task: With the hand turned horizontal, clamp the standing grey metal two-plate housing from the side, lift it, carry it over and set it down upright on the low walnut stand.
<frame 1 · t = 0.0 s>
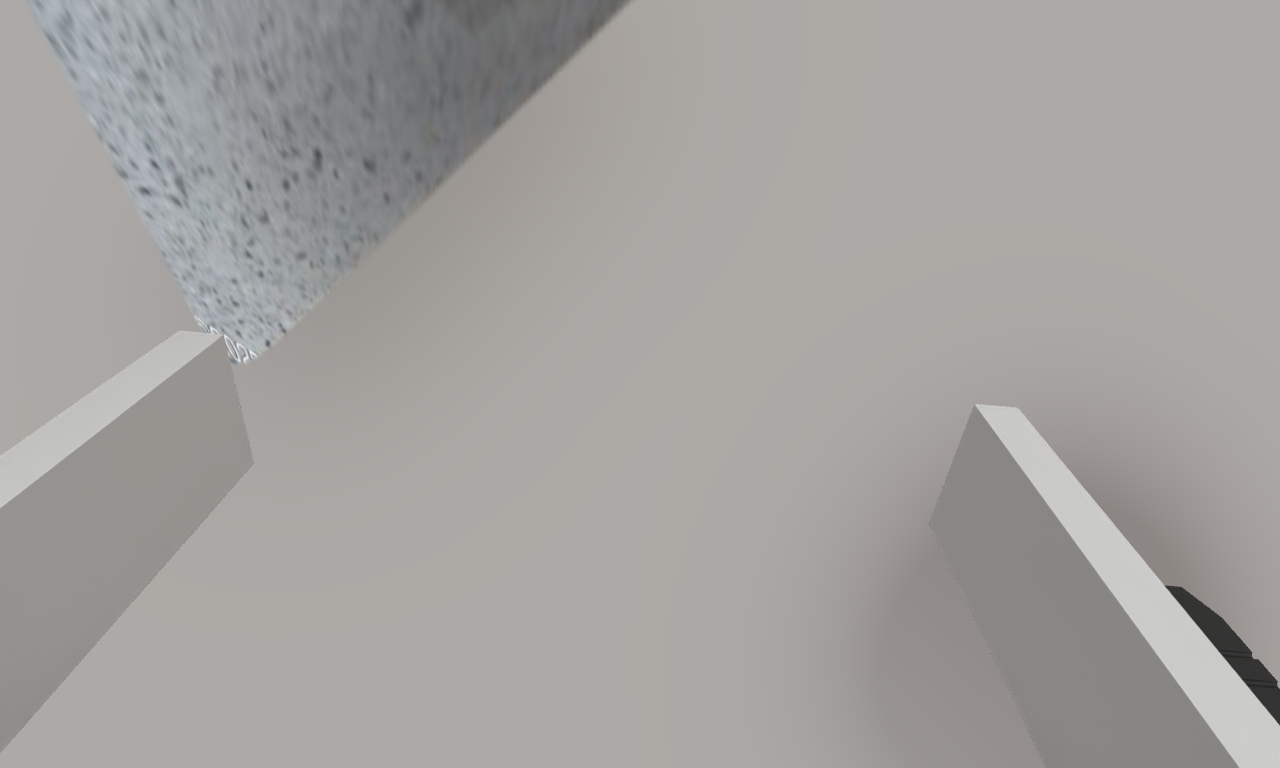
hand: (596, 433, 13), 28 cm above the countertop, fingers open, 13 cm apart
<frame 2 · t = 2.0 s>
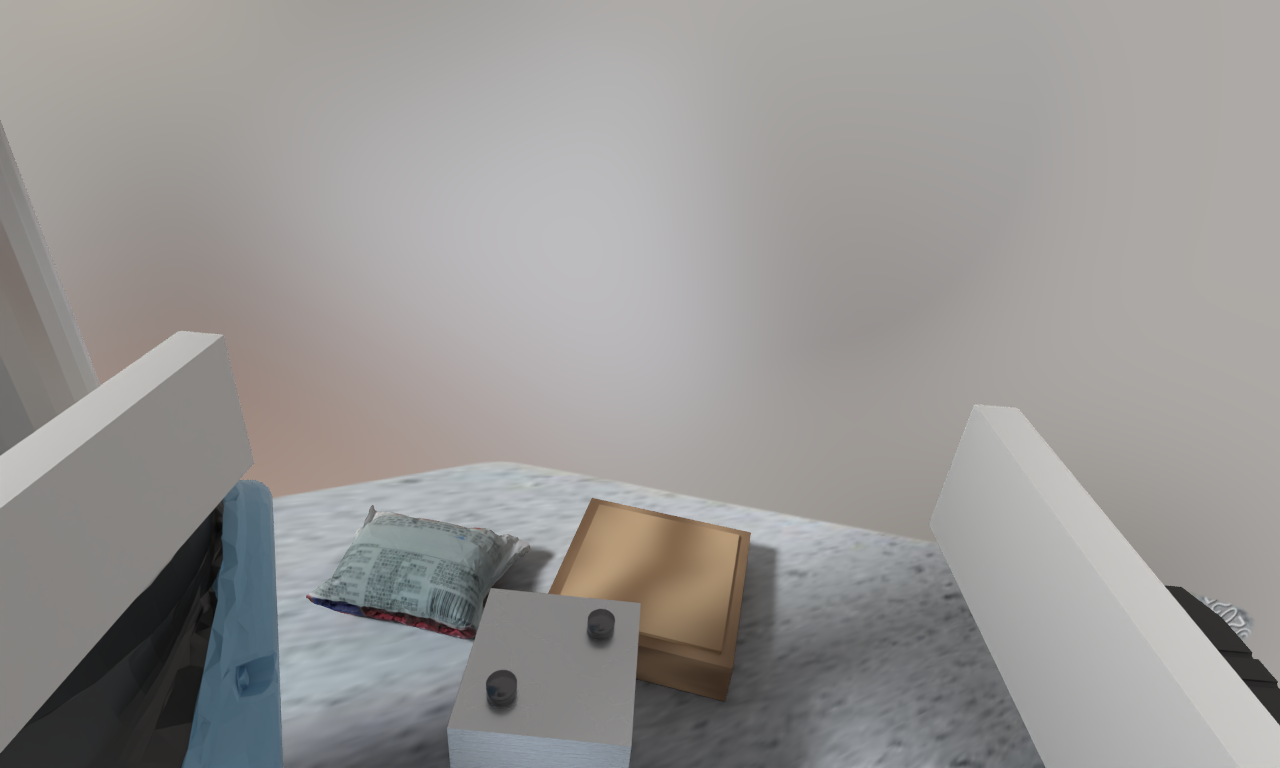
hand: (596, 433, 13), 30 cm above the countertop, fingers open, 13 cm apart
packaged food: (427, 592, 47), on the countertop
stand: (649, 603, 48), on the countertop
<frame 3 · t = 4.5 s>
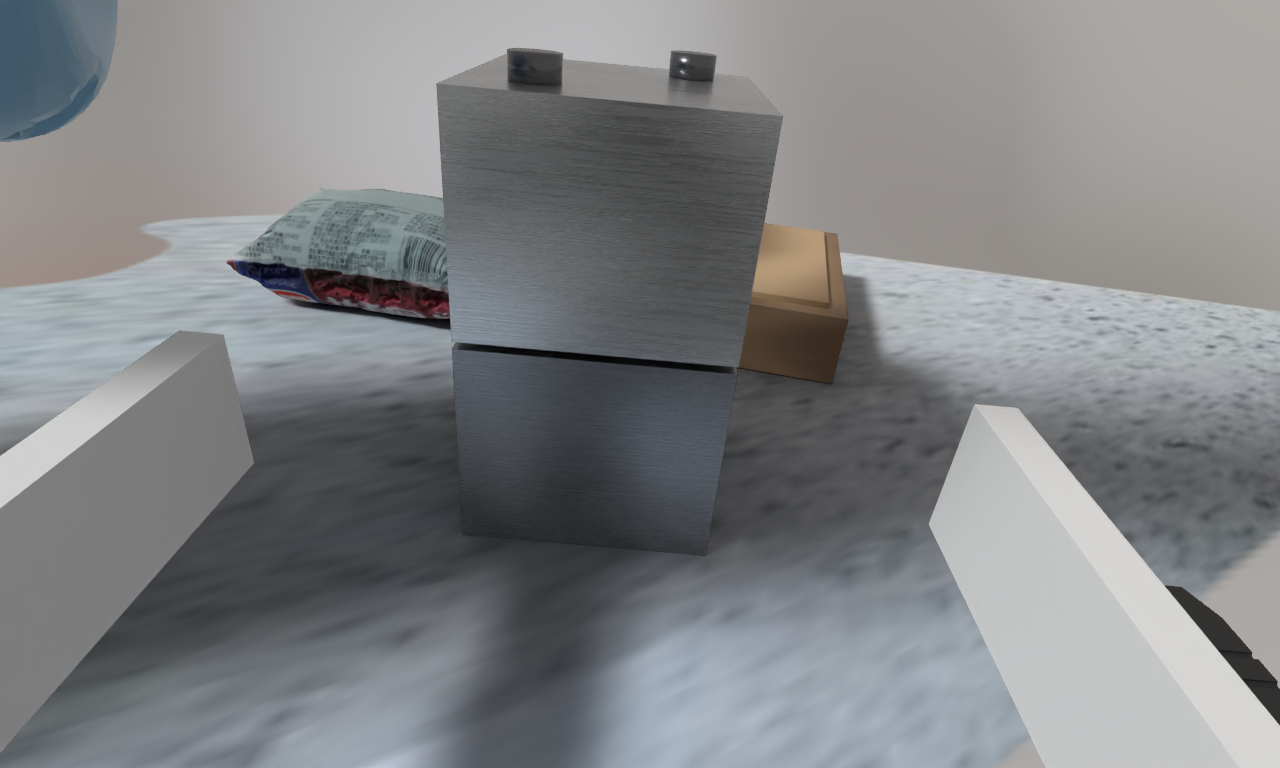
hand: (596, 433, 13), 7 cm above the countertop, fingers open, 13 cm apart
packaged food: (403, 297, 34), on the countertop
housing: (595, 471, 23), on the countertop
stand: (709, 307, 36), on the countertop
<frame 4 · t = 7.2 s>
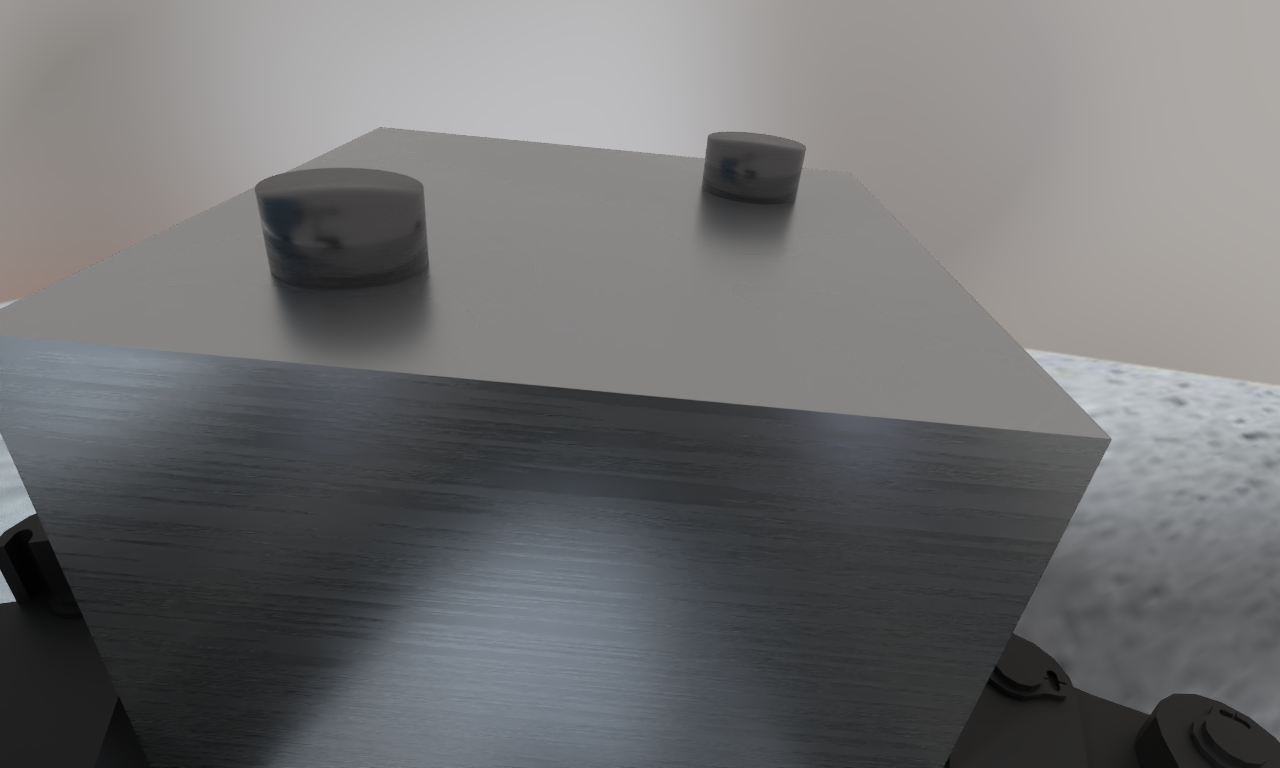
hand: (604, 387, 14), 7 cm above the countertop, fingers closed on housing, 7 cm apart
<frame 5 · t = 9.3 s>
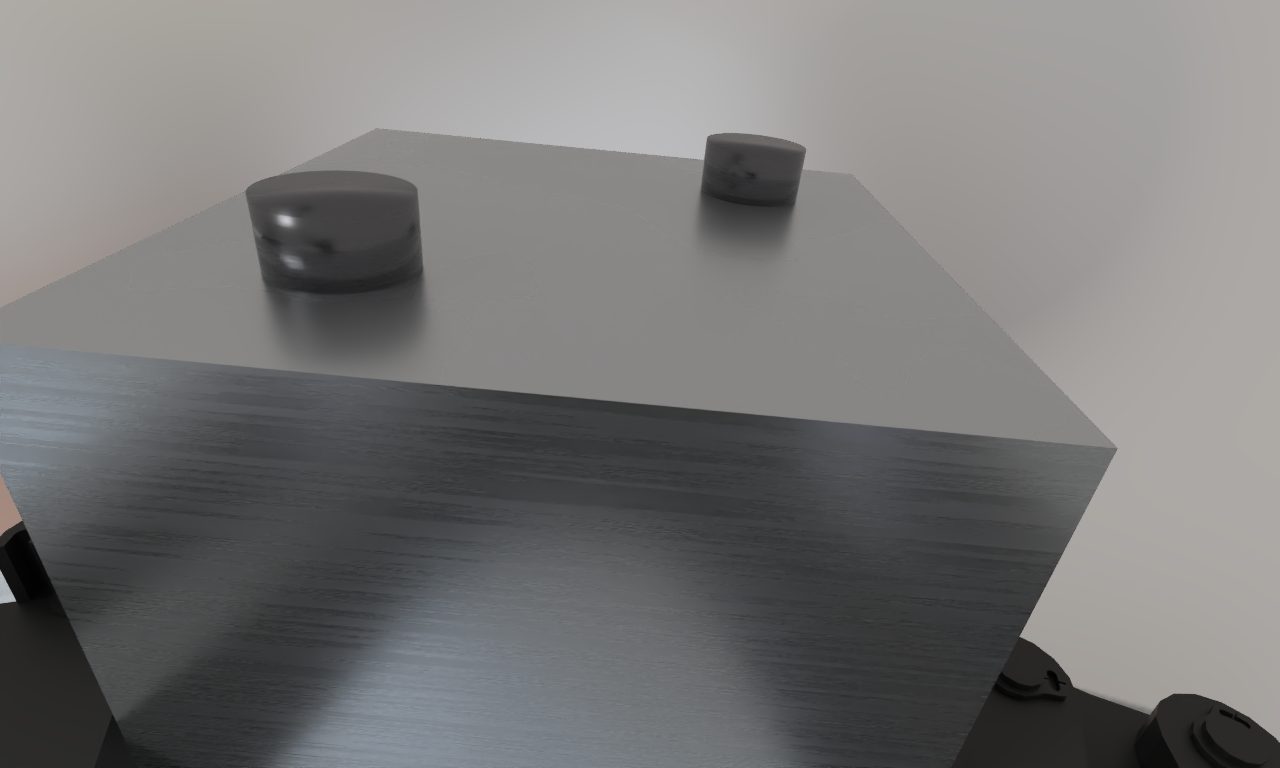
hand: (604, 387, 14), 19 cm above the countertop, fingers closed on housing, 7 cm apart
when the fingers open (12 cm above the countertop, at t = 11.4 s): housing drops 1 cm, resting on stand.
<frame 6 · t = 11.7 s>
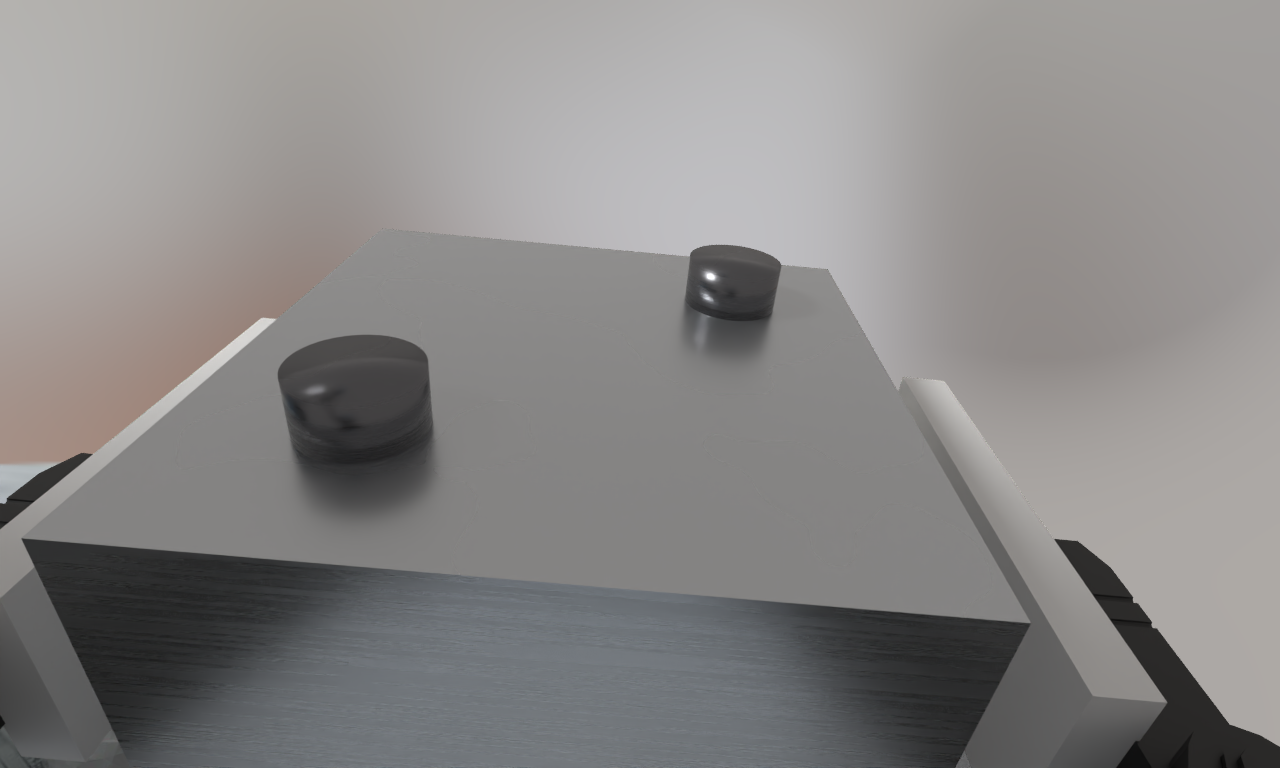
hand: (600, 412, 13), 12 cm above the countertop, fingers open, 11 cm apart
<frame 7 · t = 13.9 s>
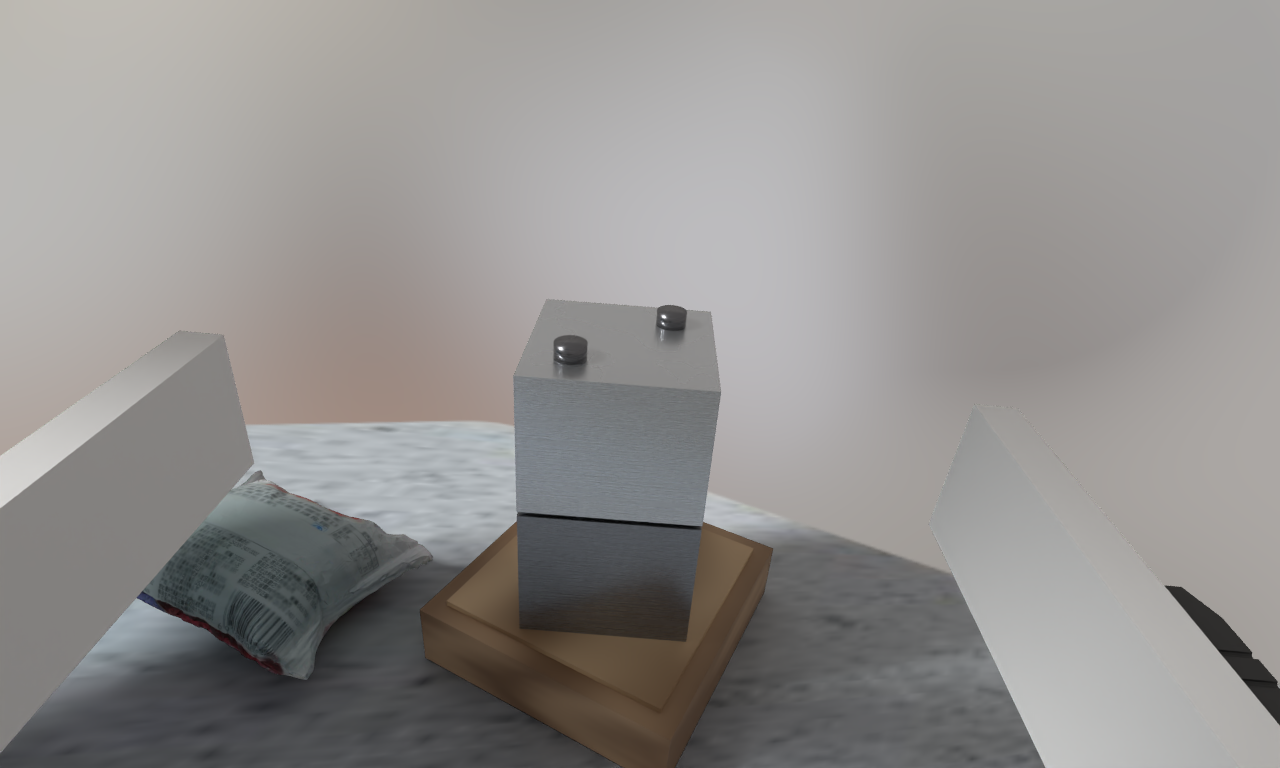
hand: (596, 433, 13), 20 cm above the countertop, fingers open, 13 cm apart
packaged food: (286, 596, 34), on the countertop
housing: (609, 575, 32), point 3 cm above the countertop, touching stand
stand: (607, 622, 34), on the countertop
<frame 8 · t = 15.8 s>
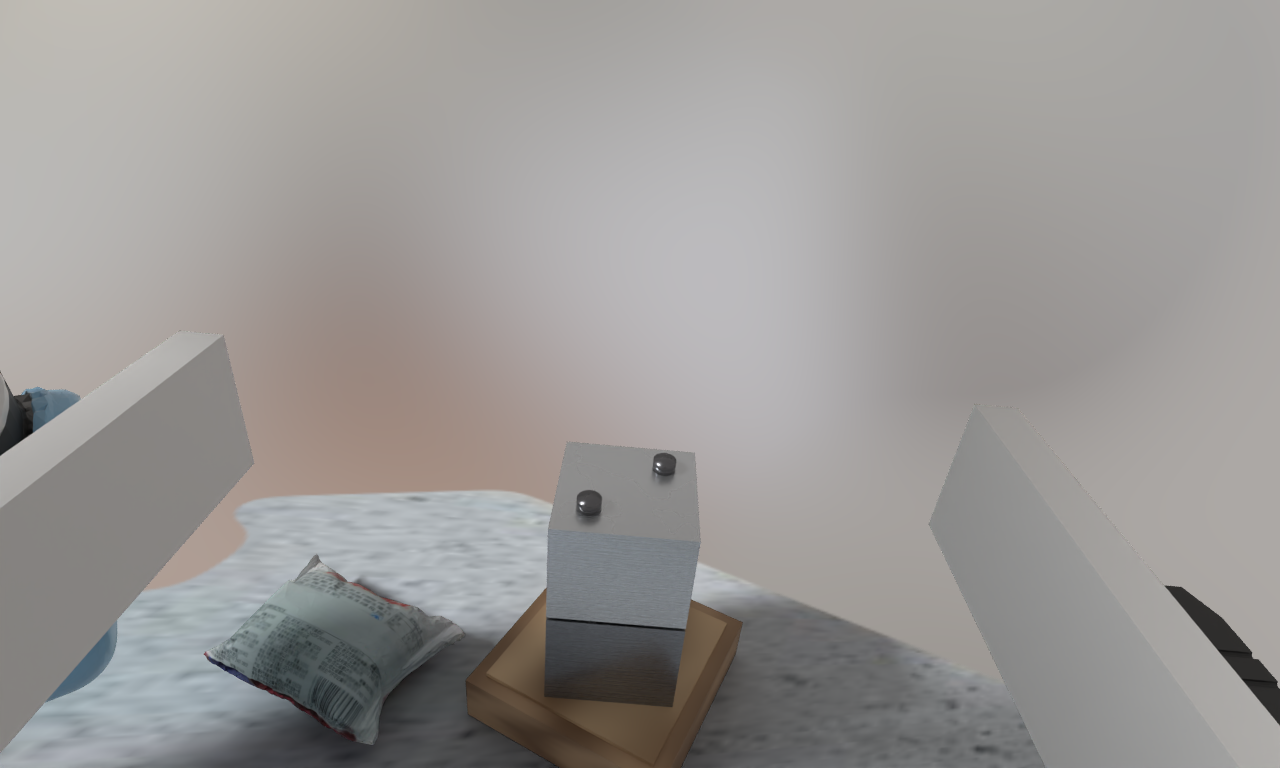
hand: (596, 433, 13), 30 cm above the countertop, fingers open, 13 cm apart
packaged food: (345, 665, 42), on the countertop
housing: (612, 648, 41), point 3 cm above the countertop, touching stand
stand: (609, 682, 42), on the countertop
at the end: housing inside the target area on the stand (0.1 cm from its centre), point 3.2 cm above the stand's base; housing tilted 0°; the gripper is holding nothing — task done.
